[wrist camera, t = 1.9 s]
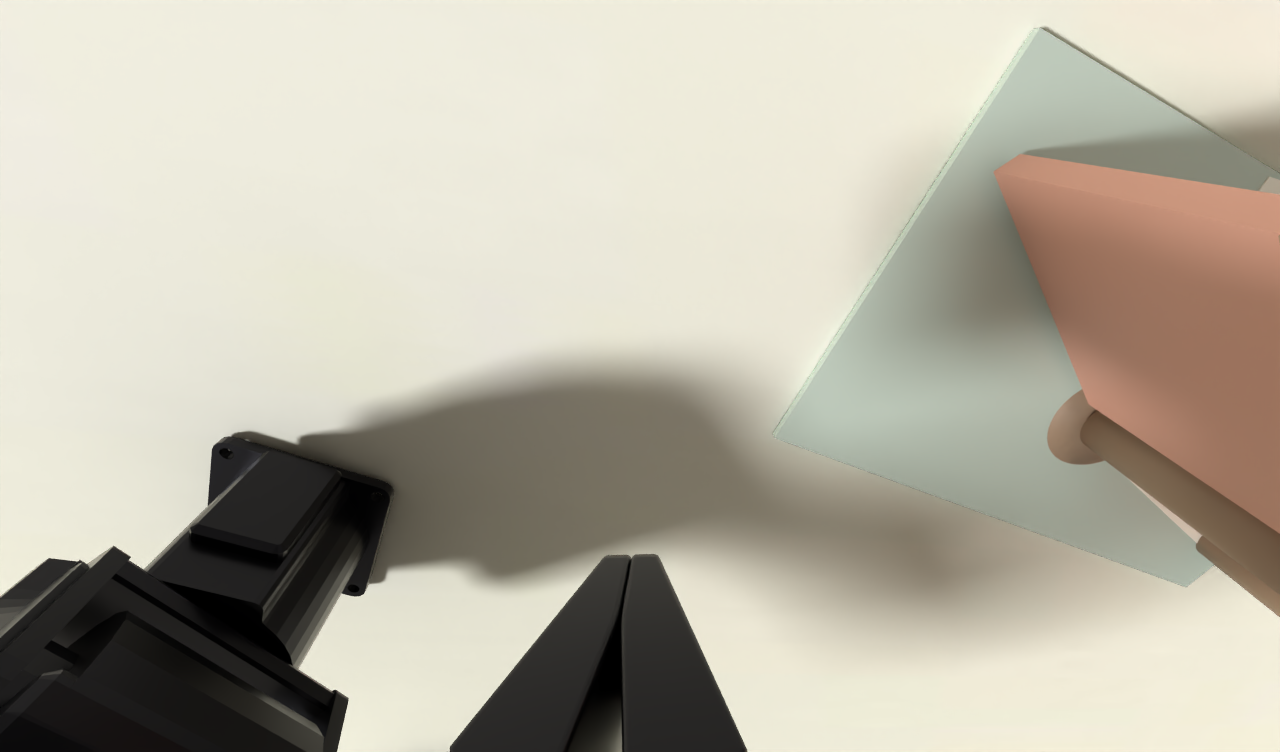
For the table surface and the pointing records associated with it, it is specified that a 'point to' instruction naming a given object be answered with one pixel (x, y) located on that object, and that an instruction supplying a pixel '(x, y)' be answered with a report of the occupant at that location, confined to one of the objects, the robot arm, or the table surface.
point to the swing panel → (1168, 335)
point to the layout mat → (1005, 323)
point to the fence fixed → (1204, 546)
